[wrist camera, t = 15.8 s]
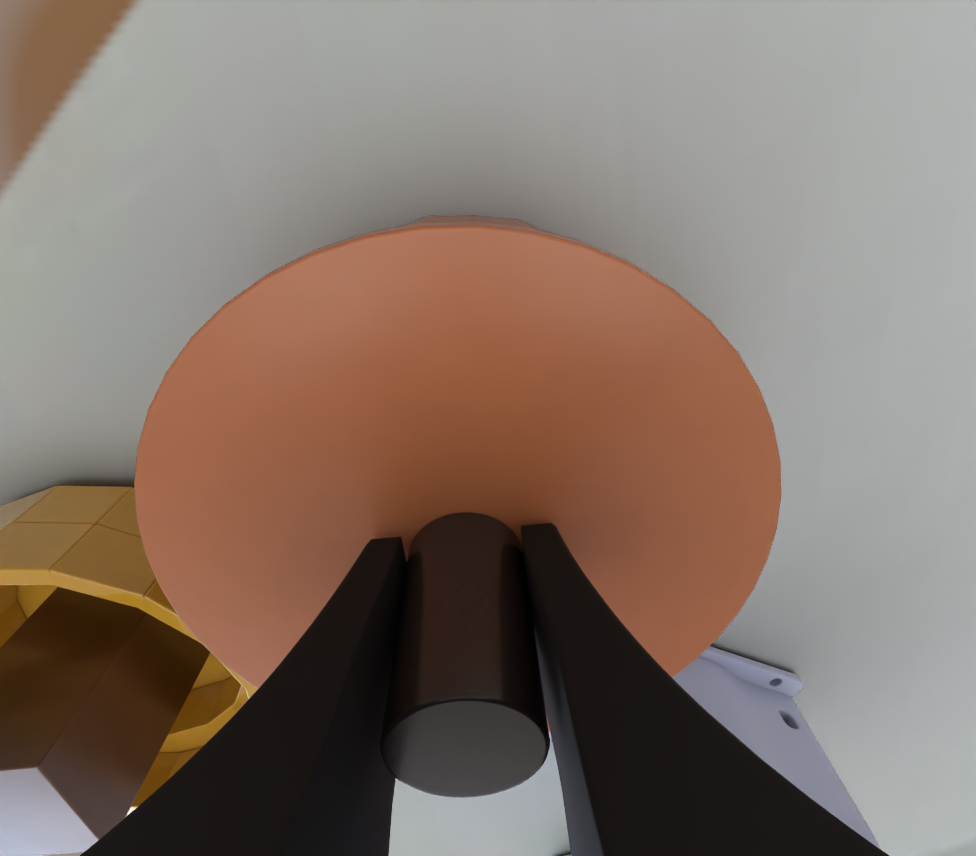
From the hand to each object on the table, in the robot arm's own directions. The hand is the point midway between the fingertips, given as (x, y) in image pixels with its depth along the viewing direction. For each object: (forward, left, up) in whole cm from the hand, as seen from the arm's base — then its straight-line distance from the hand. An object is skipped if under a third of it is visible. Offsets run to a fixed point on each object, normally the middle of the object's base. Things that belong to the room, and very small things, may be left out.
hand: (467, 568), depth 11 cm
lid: (0, 0, -1) cm, 1 cm away
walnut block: (+8, +13, -7) cm, 17 cm away
